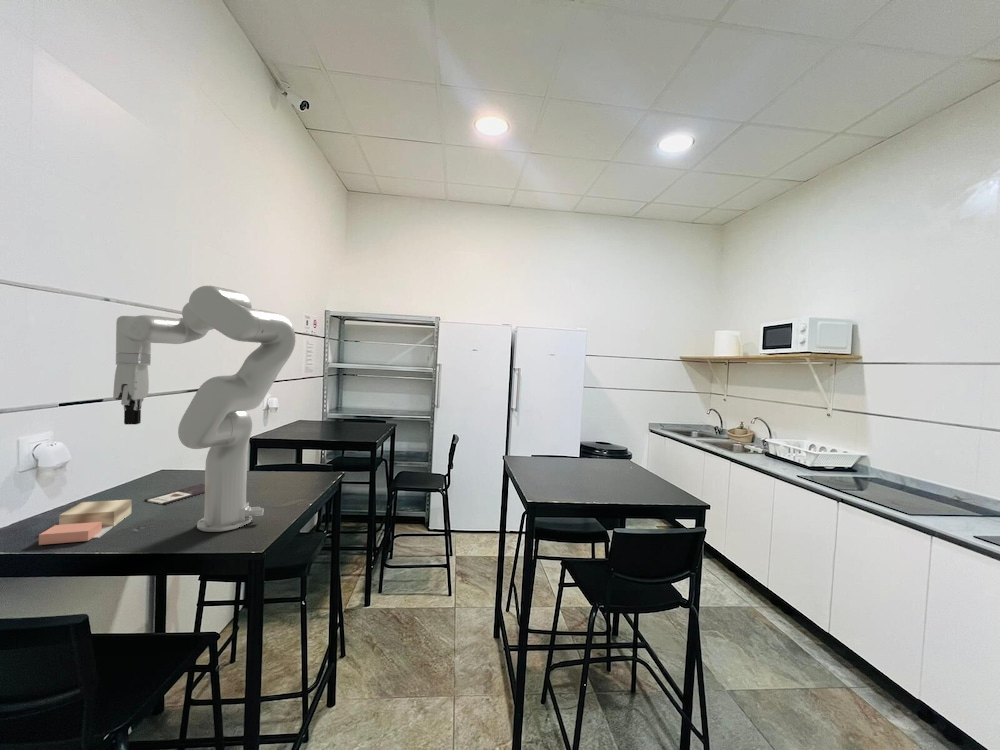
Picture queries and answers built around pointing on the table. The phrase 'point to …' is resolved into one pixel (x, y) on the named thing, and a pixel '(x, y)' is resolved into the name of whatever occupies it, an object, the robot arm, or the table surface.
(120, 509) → the wooden block
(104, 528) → the mat
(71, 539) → the pink rubber eraser
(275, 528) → the table surface
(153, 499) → the chocolate bar
